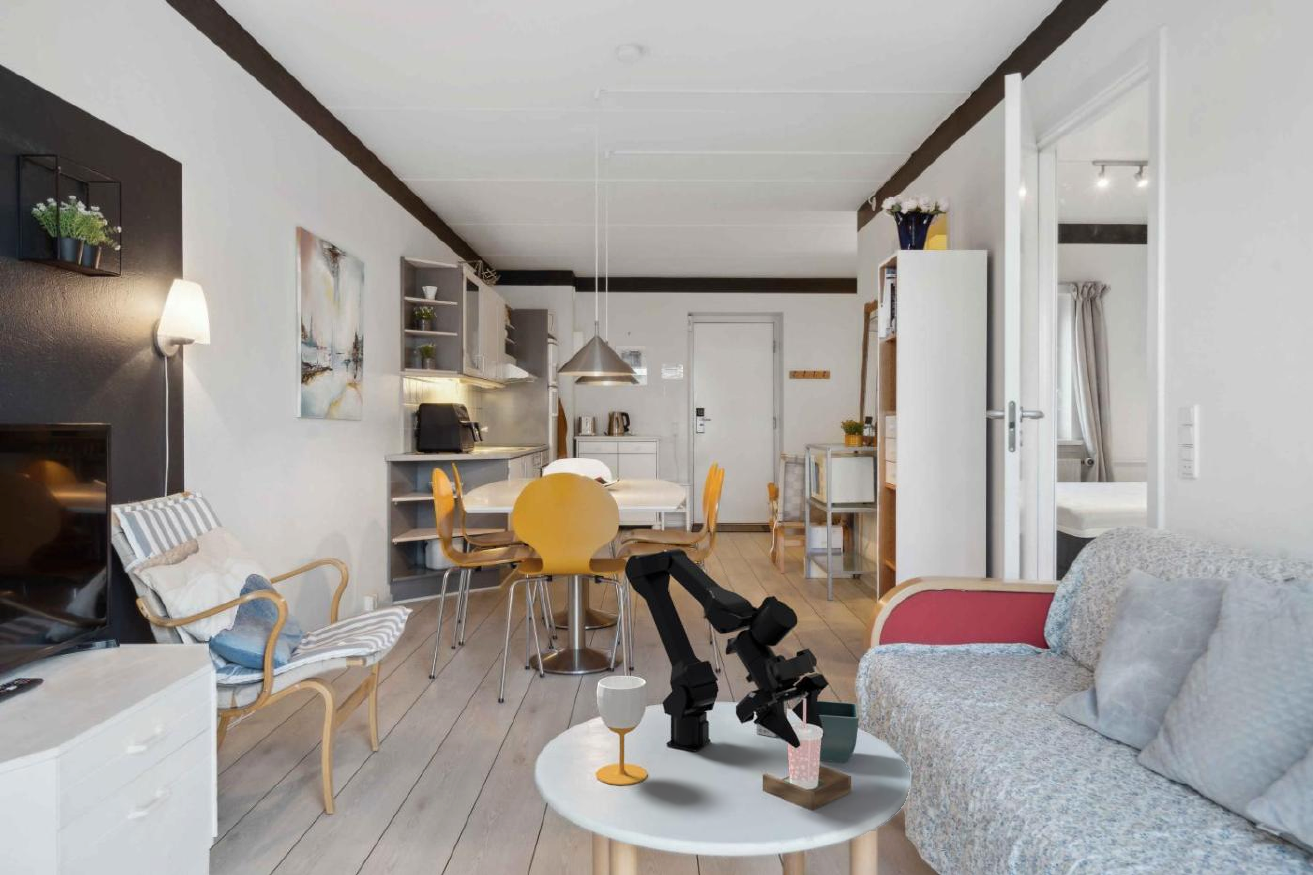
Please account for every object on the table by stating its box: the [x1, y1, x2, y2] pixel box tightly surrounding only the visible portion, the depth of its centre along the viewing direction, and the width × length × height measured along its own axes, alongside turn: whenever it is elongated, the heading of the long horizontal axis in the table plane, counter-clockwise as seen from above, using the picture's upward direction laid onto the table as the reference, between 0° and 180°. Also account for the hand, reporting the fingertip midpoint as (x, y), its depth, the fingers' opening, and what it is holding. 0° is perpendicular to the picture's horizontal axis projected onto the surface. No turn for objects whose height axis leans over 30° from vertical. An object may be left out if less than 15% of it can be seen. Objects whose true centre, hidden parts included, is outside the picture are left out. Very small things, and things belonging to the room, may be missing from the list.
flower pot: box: [817, 700, 860, 763], centre depth 150 cm, size 9×9×9 cm
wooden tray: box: [762, 764, 852, 811], centre depth 135 cm, size 10×11×3 cm
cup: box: [595, 675, 649, 786], centre depth 141 cm, size 9×9×16 cm
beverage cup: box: [787, 698, 823, 789], centre depth 135 cm, size 6×6×14 cm
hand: (810, 742), depth 134 cm, fingers closed on beverage cup, 6 cm apart
